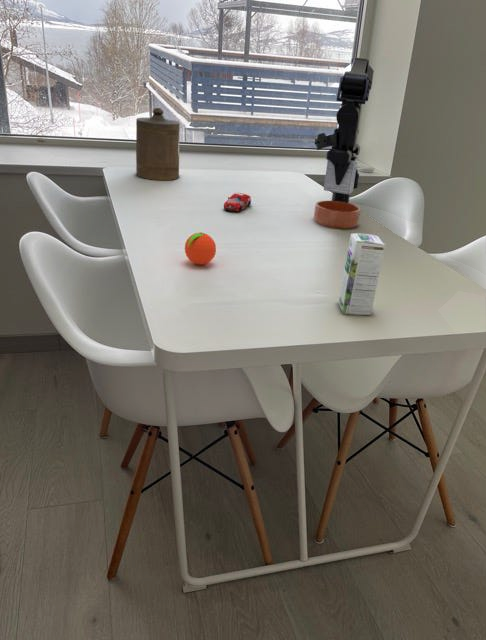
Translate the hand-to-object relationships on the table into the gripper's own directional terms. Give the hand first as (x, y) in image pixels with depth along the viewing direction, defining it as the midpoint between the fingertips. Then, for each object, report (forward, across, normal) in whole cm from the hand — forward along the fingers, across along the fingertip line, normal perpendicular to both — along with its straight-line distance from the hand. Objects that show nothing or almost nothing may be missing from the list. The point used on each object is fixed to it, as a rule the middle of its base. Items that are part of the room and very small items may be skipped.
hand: (339, 183), depth 168 cm
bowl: (+11, 0, +1) cm, 11 cm away
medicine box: (+2, 0, 0) cm, 2 cm away
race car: (+12, +2, -30) cm, 32 cm away
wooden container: (+12, -22, -69) cm, 73 cm away
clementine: (+11, +56, -20) cm, 61 cm away
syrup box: (+11, +64, +18) cm, 67 cm away
